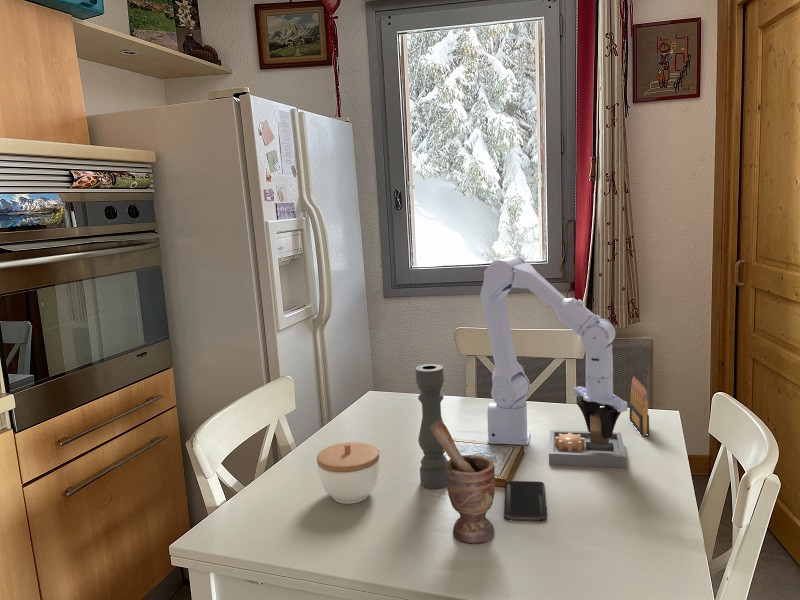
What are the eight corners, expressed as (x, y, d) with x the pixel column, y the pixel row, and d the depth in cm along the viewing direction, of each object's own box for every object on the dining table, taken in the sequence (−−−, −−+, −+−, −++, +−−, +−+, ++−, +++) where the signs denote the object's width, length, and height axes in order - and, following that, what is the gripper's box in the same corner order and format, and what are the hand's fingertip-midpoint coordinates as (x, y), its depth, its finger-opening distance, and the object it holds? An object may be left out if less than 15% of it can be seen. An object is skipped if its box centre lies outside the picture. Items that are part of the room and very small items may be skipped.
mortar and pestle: (427, 542, 114) (421, 433, 110) (437, 517, 122) (432, 416, 119) (493, 548, 111) (489, 436, 107) (499, 522, 119) (495, 418, 116)
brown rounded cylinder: (600, 446, 143) (599, 420, 142) (586, 440, 146) (585, 415, 145) (612, 441, 145) (612, 415, 144) (598, 436, 148) (598, 411, 147)
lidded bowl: (354, 476, 142) (350, 428, 140) (394, 493, 133) (391, 442, 131) (307, 497, 133) (303, 446, 131) (347, 517, 124) (343, 462, 122)
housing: (548, 464, 142) (548, 449, 142) (550, 440, 156) (550, 426, 155) (626, 467, 138) (626, 452, 138) (620, 442, 152) (620, 428, 151)
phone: (503, 516, 120) (505, 480, 134) (503, 522, 120) (505, 485, 134) (547, 518, 118) (544, 481, 133) (547, 523, 118) (545, 486, 133)
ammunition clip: (649, 436, 155) (649, 387, 153) (641, 436, 155) (641, 388, 153) (636, 420, 165) (636, 375, 163) (629, 420, 165) (629, 375, 163)
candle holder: (454, 478, 138) (448, 364, 134) (443, 491, 133) (437, 372, 129) (427, 474, 141) (421, 362, 137) (415, 486, 135) (409, 370, 131)
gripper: (563, 371, 148) (564, 428, 150) (609, 386, 135) (610, 448, 137) (586, 366, 151) (587, 422, 153) (634, 380, 138) (634, 441, 140)
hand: (599, 434), depth 145 cm, fingers closed on brown rounded cylinder, 4 cm apart
